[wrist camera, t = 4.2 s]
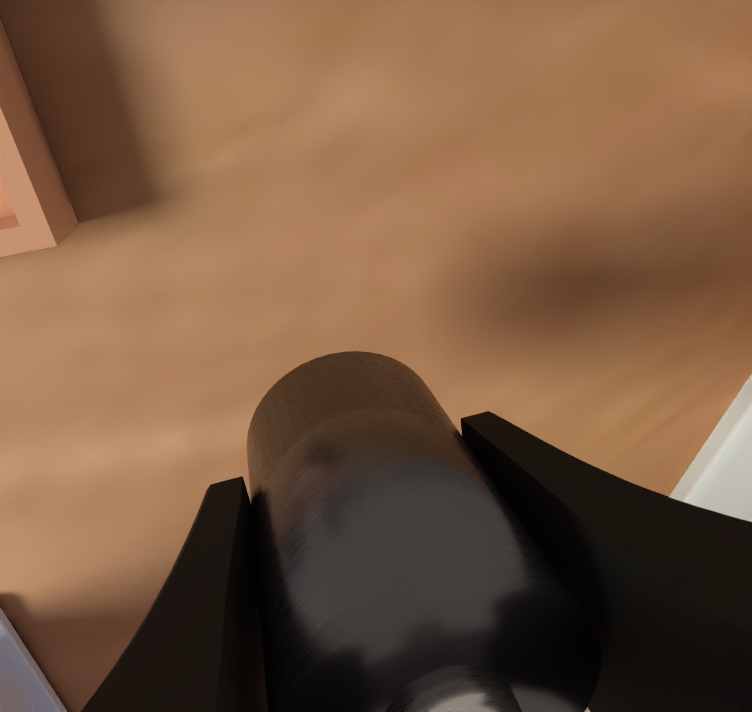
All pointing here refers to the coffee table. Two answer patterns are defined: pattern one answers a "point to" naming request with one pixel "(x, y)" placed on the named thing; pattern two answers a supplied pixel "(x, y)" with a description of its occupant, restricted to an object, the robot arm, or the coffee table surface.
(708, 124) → the coffee table surface
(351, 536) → the cell
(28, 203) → the dish
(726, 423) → the external hard drive
